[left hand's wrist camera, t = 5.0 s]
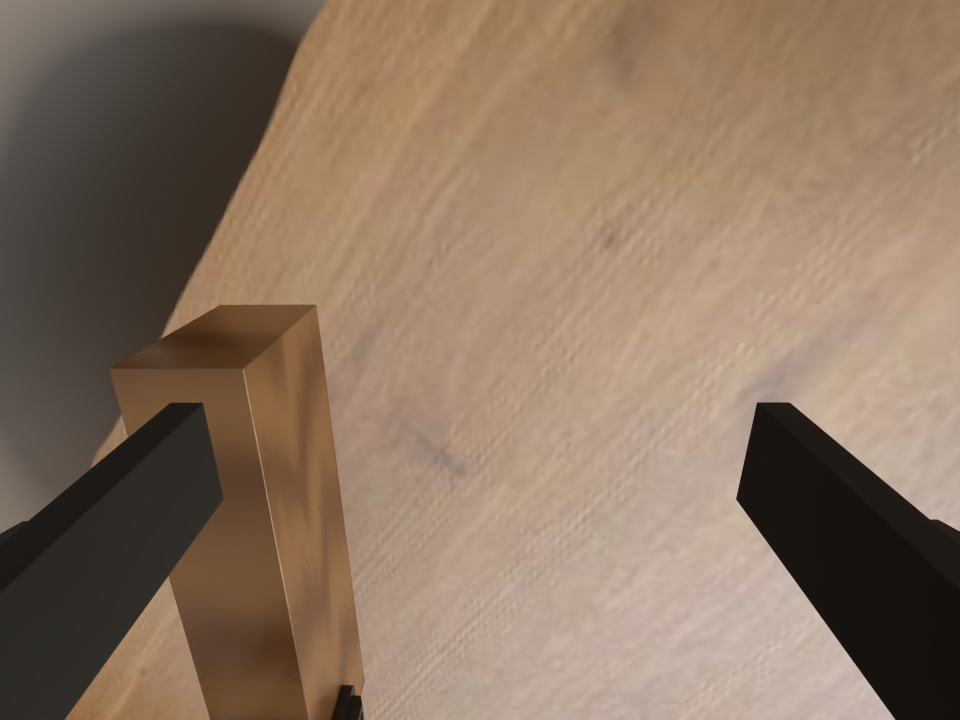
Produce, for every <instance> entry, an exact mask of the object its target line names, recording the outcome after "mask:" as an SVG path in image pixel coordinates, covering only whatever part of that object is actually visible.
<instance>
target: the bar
mask: <svg viewBox="0 0 960 720" xmlns="http://www.w3.org/2000/svg"><path fill="white" fill-rule="evenodd" d="M109 372H110V375H111V379H112V382H113V386H114V389H115V393H116V396H117V400H118V403H119V406H120V410H121V413H122V417H123V420H124V424H125V427H126V431H127V434H128V438H129V437H130V436H131V435H132V434H133V433H135V432H136V431H137V430H138V429H139V428H141V427H142V426H143V425H144V424H145V423H147V422H148V421H149V420H150V419H151V418H153V417H154V416H155V415H156V414H157V413H159V412H160V411H161V410H162V409H163V408H165V407H166V406H167V405H168V404H169V403H203V406H204V410H205V415H206V419H207V424H208V429H209V433H210V438H211V442H212V447H213V452H214V456H215V461H216V466H217V470H218V475H219V479H220V484H221V489H222V493H223V498H224V500H223V501H222V502H221V504H220V505H219V506H218V508H217V509H216V511H215V512H214V513H213V515H212V516H211V518H210V519H209V520H208V522H207V523H206V524H205V526H204V527H203V529H202V530H201V531H200V533H199V534H198V536H197V537H196V538H195V540H194V541H193V542H192V544H191V545H190V547H189V548H188V549H187V551H186V552H185V554H184V555H183V556H182V558H181V559H180V560H179V562H178V563H177V565H176V566H175V567H174V569H173V570H172V572H171V573H170V574H169V579H170V582H171V586H172V589H173V593H174V596H175V600H176V603H177V606H178V610H179V613H180V617H181V620H182V624H183V627H184V631H185V634H186V637H187V641H188V644H189V648H190V651H191V655H192V658H193V662H194V665H195V669H196V672H197V675H198V679H199V682H200V686H201V689H202V693H203V696H204V700H205V703H206V706H207V710H208V713H209V717H210V720H332V718H333V715H334V711H335V708H336V704H337V701H338V697H339V694H340V690H341V687H342V685H354V686H355V692H356V695H359V696H361V694H362V690H363V685H364V681H365V680H364V673H363V665H362V657H361V649H360V642H359V634H358V626H357V618H356V610H355V603H354V595H353V587H352V579H351V572H350V564H349V556H348V548H347V541H346V533H345V525H344V517H343V509H342V502H341V494H340V486H339V478H338V471H337V463H336V455H335V447H334V440H333V432H332V424H331V416H330V408H329V401H328V393H327V385H326V377H325V370H324V362H323V354H322V346H321V339H320V331H319V323H318V315H317V307H316V305H220V306H218V307H216V308H214V309H213V310H211V311H209V312H207V313H206V314H204V315H202V316H200V317H199V318H197V319H195V320H193V321H192V322H190V323H188V324H186V325H185V326H183V327H181V328H179V329H178V330H176V331H174V332H172V333H171V334H169V335H167V336H165V337H164V338H162V339H160V340H158V341H157V342H155V343H153V344H151V345H150V346H148V347H146V348H144V349H143V350H141V351H139V352H137V353H136V354H134V355H132V356H131V357H129V358H127V359H125V360H123V361H122V362H120V363H118V364H116V365H115V366H113V367H111V368H110V369H109Z"/></svg>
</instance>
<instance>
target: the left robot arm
mask: <svg viewBox="0 0 960 720" xmlns="http://www.w3.org/2000/svg"><path fill="white" fill-rule="evenodd" d="M223 500H224V498H223V493H222V489H221V484H220V479H219V475H218V470H217V466H216V461H215V456H214V452H213V447H212V442H211V438H210V433H209V429H208V424H207V419H206V415H205V410H204V406H203V403H169V404H168V405H167V406H166V407H165V408H163V409H162V410H161V411H160V412H159V413H157V414H156V415H155V416H154V417H153V418H151V419H150V420H149V421H148V422H147V423H145V424H144V425H143V426H142V427H141V428H139V429H138V430H137V431H136V432H135V433H133V434H132V435H131V436H130V437H129V438H127V439H126V440H125V441H124V442H123V443H121V444H120V445H119V446H118V447H117V448H115V449H114V450H113V451H112V452H111V453H109V454H108V455H107V456H106V457H105V458H103V459H102V460H101V461H100V462H99V463H97V464H96V465H95V466H94V467H93V468H91V469H90V470H89V471H88V472H87V473H86V474H84V475H83V476H82V477H81V478H79V479H78V480H77V481H76V482H75V483H73V484H72V485H71V486H70V487H69V488H68V489H66V490H65V491H64V492H63V493H61V494H60V495H59V496H58V497H57V498H56V499H54V500H53V501H52V502H51V503H49V504H48V505H47V506H46V507H45V508H44V509H42V510H41V511H40V512H39V513H38V514H36V515H35V516H34V517H33V518H32V519H30V520H29V521H23V522H21V523H19V524H17V525H15V526H14V527H12V528H10V529H8V530H6V531H5V532H3V533H1V534H0V720H65V718H66V717H67V716H68V714H69V713H70V711H71V710H72V709H73V707H74V706H75V704H76V703H77V702H78V700H79V699H80V698H81V696H82V695H83V693H84V692H85V691H86V689H87V688H88V686H89V685H90V684H91V682H92V681H93V680H94V678H95V677H96V675H97V674H98V673H99V671H100V670H101V668H102V667H103V666H104V664H105V663H106V662H107V660H108V659H109V657H110V656H111V655H112V653H113V652H114V650H115V649H116V648H117V646H118V645H119V644H120V642H121V641H122V639H123V638H124V637H125V635H126V634H127V632H128V631H129V630H130V628H131V627H132V626H133V624H134V623H135V621H136V620H137V619H138V617H139V616H140V614H141V613H142V612H143V610H144V609H145V608H146V606H147V605H148V603H149V602H150V601H151V599H152V598H153V596H154V595H155V594H156V592H157V591H158V590H159V588H160V587H161V585H162V584H163V583H164V581H165V580H166V578H167V577H168V576H169V574H170V573H171V572H172V570H173V569H174V567H175V566H176V565H177V563H178V562H179V560H180V559H181V558H182V556H183V555H184V554H185V552H186V551H187V549H188V548H189V547H190V545H191V544H192V542H193V541H194V540H195V538H196V537H197V536H198V534H199V533H200V531H201V530H202V529H203V527H204V526H205V524H206V523H207V522H208V520H209V519H210V518H211V516H212V515H213V513H214V512H215V511H216V509H217V508H218V506H219V505H220V504H221V502H222V501H223ZM736 500H737V501H738V502H739V504H740V505H741V506H742V508H743V509H744V511H745V512H746V513H747V515H748V516H749V518H750V519H751V520H752V522H753V523H754V524H755V526H756V527H757V529H758V530H759V531H760V533H761V534H762V536H763V537H764V538H765V540H766V541H767V542H768V544H769V545H770V547H771V548H772V549H773V551H774V552H775V554H776V555H777V556H778V558H779V559H780V560H781V562H782V563H783V565H784V566H785V567H786V569H787V570H788V572H789V573H790V574H791V576H792V577H793V578H794V580H795V581H796V583H797V584H798V585H799V587H800V588H801V590H802V591H803V592H804V594H805V595H806V596H807V598H808V599H809V601H810V602H811V603H812V605H813V606H814V608H815V609H816V610H817V612H818V613H819V614H820V616H821V617H822V619H823V620H824V621H825V623H826V624H827V626H828V627H829V628H830V630H831V631H832V632H833V634H834V635H835V637H836V638H837V639H838V641H839V642H840V644H841V645H842V646H843V648H844V649H845V650H846V652H847V653H848V655H849V656H850V657H851V659H852V660H853V662H854V663H855V664H856V666H857V667H858V668H859V670H860V671H861V673H862V674H863V675H864V677H865V678H866V680H867V681H868V682H869V684H870V685H871V686H872V688H873V689H874V691H875V692H876V693H877V695H878V696H879V698H880V699H881V700H882V702H883V703H884V704H885V706H886V707H887V709H888V710H889V711H890V713H891V714H892V716H893V717H894V718H895V720H960V531H958V530H956V529H954V528H952V527H950V526H949V525H947V524H945V523H943V522H941V521H939V520H930V519H928V518H927V517H926V516H925V515H924V514H922V513H921V512H920V511H919V510H918V509H917V508H915V507H914V506H913V505H912V504H911V503H909V502H908V501H907V500H906V499H905V498H903V497H902V496H901V495H900V494H899V493H897V492H896V491H895V490H894V489H893V488H891V487H890V486H889V485H888V484H887V483H885V482H884V481H883V480H882V479H881V478H879V477H878V476H877V475H876V474H875V473H873V472H872V471H871V470H870V469H869V468H867V467H866V466H865V465H864V464H863V463H861V462H860V461H859V460H858V459H857V458H855V457H854V456H853V455H852V454H851V453H849V452H848V451H847V450H846V449H845V448H843V447H842V446H841V445H840V444H839V443H837V442H836V441H835V440H834V439H833V438H831V437H830V436H829V435H828V434H827V433H825V432H824V431H823V430H822V429H821V428H819V427H818V426H817V425H816V424H815V423H813V422H812V421H811V420H810V419H809V418H807V417H806V416H805V415H804V414H803V413H801V412H800V411H799V410H798V409H797V408H795V407H794V406H793V405H792V404H791V403H757V406H756V410H755V415H754V419H753V424H752V429H751V433H750V438H749V442H748V447H747V452H746V456H745V461H744V466H743V470H742V475H741V479H740V484H739V489H738V493H737V498H736Z"/></svg>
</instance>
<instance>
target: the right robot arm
mask: <svg viewBox="0 0 960 720" xmlns="http://www.w3.org/2000/svg"><path fill="white" fill-rule="evenodd" d="M332 720H364V715H363V707H362V701H361V696H359V695H356V692H355V686H354V685H342V687H341V690H340V694H339V697H338V701H337V704H336V708H335V711H334V715H333V718H332Z"/></svg>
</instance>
